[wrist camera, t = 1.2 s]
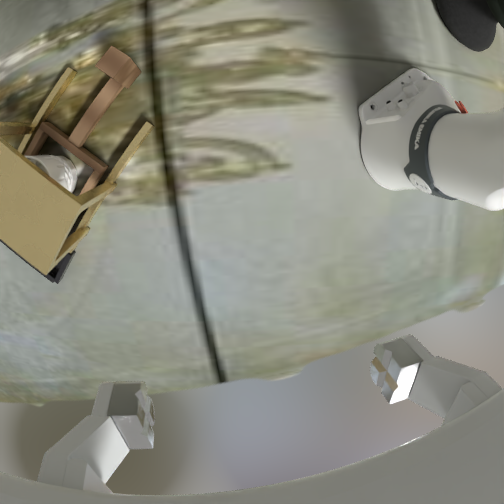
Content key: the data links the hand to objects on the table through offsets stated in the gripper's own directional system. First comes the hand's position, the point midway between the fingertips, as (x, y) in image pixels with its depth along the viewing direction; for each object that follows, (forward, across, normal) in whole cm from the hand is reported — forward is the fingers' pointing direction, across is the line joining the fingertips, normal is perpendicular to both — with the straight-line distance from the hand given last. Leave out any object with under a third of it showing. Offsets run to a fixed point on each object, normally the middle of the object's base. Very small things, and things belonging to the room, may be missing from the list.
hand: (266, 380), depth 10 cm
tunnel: (+36, +22, -6) cm, 42 cm away
